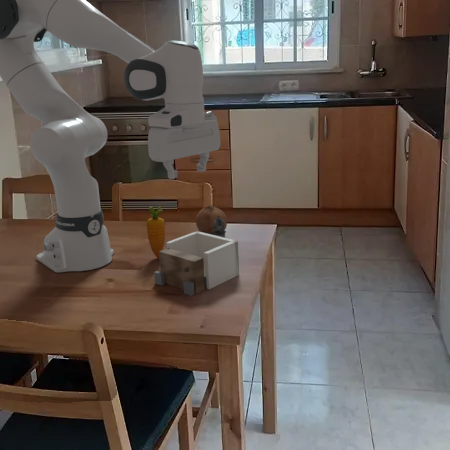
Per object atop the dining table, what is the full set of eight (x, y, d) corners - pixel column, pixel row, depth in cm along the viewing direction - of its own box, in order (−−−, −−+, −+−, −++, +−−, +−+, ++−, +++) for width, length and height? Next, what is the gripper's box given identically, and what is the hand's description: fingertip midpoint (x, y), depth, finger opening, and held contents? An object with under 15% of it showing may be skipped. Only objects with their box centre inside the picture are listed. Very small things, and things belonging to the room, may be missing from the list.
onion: (198, 232, 181) (196, 201, 178) (228, 231, 180) (227, 200, 177) (195, 242, 172) (193, 209, 169) (227, 241, 171) (225, 208, 168)
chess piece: (230, 253, 161) (229, 211, 158) (231, 261, 156) (230, 218, 152) (209, 254, 161) (207, 213, 158) (209, 262, 156) (207, 219, 152)
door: (159, 282, 144) (156, 252, 141) (170, 278, 146) (167, 248, 144) (194, 294, 136) (192, 262, 134) (205, 289, 139) (203, 257, 136)
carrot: (164, 253, 163) (160, 201, 159) (169, 259, 159) (165, 206, 154) (147, 256, 162) (142, 204, 157) (151, 262, 157) (147, 208, 153)
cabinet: (152, 282, 144) (150, 248, 141) (198, 263, 155) (196, 231, 152) (193, 296, 135) (191, 260, 132) (239, 274, 146) (237, 240, 144)
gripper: (206, 109, 142) (208, 165, 147) (142, 119, 128) (145, 180, 132) (225, 111, 138) (227, 168, 143) (161, 121, 124) (164, 184, 128)
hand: (187, 174), depth 137 cm, fingers open, 8 cm apart
